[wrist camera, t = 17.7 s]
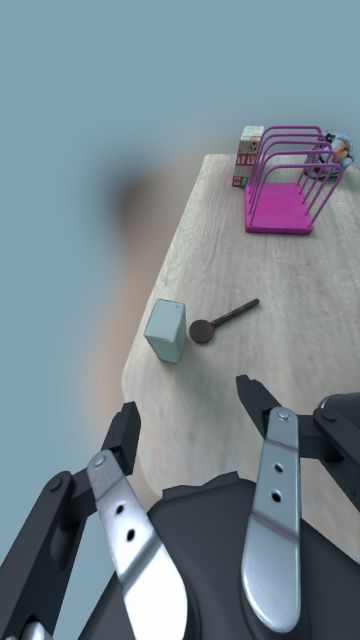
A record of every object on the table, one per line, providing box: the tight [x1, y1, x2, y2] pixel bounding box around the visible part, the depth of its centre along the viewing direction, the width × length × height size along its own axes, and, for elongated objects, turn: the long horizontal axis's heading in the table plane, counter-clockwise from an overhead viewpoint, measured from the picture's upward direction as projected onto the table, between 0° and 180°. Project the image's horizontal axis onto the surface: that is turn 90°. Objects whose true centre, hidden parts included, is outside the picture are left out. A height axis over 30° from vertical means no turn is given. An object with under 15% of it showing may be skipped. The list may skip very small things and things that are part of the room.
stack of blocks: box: [232, 126, 264, 187], centre depth 62 cm, size 21×6×12 cm, turn 162°
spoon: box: [189, 299, 259, 343], centre depth 36 cm, size 17×5×1 cm, turn 118°
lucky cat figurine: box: [304, 131, 355, 178], centre depth 57 cm, size 15×12×14 cm
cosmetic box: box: [144, 299, 187, 364], centre depth 29 cm, size 6×4×12 cm
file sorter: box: [245, 125, 343, 234], centre depth 47 cm, size 17×25×16 cm
